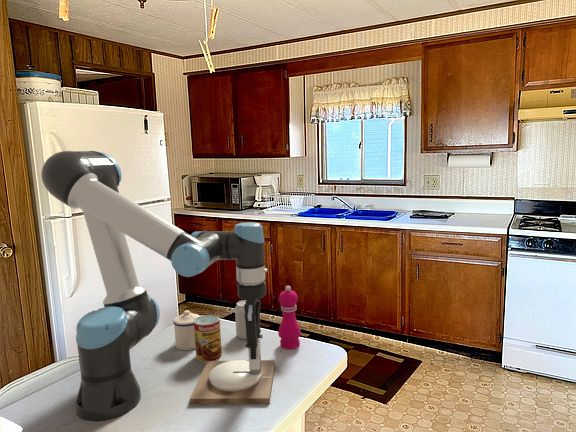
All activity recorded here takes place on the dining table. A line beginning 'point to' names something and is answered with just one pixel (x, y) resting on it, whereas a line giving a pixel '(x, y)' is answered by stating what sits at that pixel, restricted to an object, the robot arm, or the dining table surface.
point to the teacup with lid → (185, 330)
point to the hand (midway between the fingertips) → (255, 365)
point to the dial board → (253, 395)
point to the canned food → (207, 338)
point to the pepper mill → (289, 320)
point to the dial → (234, 375)
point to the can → (240, 320)
